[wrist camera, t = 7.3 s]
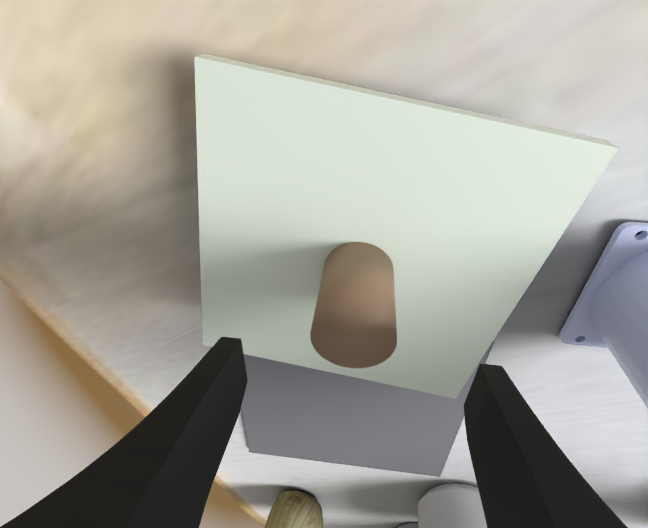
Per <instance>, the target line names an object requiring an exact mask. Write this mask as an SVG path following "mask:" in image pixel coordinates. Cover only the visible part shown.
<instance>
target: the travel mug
mask: <svg viewBox="0 0 648 528" xmlns="http://www.w3.org/2000/svg"><path fill="white" fill-rule="evenodd" d="M397 528H419V526H418V523H407V524H403V525H400V526H398V527H397Z"/></svg>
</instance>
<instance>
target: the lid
mask: <svg viewBox="0 0 648 528" xmlns="http://www.w3.org/2000/svg"><path fill="white" fill-rule="evenodd" d="M194 63H195V99H196V134H197V170H198V205H199V241H200V277H201V312H202V345H204V346H208V347H213V346H214V344H215V343H216V342H217V341H218V340H219V339H220V338H221V337H230V338H240V339H241V341H242V348H243V354H246V355H251V356H256V357H260V358H265V359H270V360H275V361H279V362H284V363H289V364H294V365H298V366H303V367H308V368H312V369H317V370H322V371H327V372H331V373H336V374H341V375H346V376H350V377H355V378H360V379H365V380H369V381H374V382H379V383H383V384H388V385H393V386H398V387H402V388H407V389H412V390H417V391H421V392H426V393H431V394H435V395H440V396H445V397H450V398H454V399H456V397H457V396H458V394H459V393H460V391H461V390H462V388H463V387H464V385H465V383H466V382H467V380H468V379H469V377H470V376H471V374H472V373H473V371H474V370H475V368H476V367H477V365H478V363H479V362H480V360H481V359H482V357H483V356H484V354H485V353H486V351H487V350H488V348H489V347H490V345H491V343H492V342H493V340H494V339H495V337H496V336H497V334H498V333H499V331H500V330H501V328H502V327H503V325H504V323H505V322H506V320H507V319H508V317H509V316H510V314H511V313H512V311H513V310H514V308H515V307H516V305H517V303H518V302H519V300H520V299H521V297H522V296H523V294H524V293H525V291H526V290H527V288H528V286H529V285H530V283H531V282H532V280H533V279H534V277H535V276H536V274H537V273H538V271H539V270H540V268H541V266H542V265H543V263H544V262H545V260H546V259H547V257H548V256H549V254H550V253H551V251H552V250H553V248H554V246H555V245H556V243H557V242H558V240H559V239H560V237H561V236H562V234H563V233H564V231H565V230H566V228H567V226H568V225H569V223H570V222H571V220H572V219H573V217H574V216H575V214H576V213H577V211H578V210H579V208H580V206H581V205H582V203H583V202H584V200H585V199H586V197H587V196H588V194H589V193H590V191H591V189H592V188H593V186H594V185H595V183H596V182H597V180H598V179H599V177H600V176H601V174H602V173H603V171H604V169H605V168H606V166H607V165H608V163H609V162H610V160H611V159H612V157H613V156H614V154H615V153H616V151H617V149H618V147H616V146H615V145H613V144H612V143H610V142H609V141H607V140H603V139H599V138H594V137H589V136H585V135H580V134H575V133H571V132H566V131H561V130H557V129H552V128H547V127H543V126H538V125H534V124H529V123H524V122H520V121H515V120H510V119H506V118H501V117H496V116H492V115H487V114H482V113H478V112H473V111H469V110H464V109H459V108H455V107H450V106H445V105H441V104H436V103H431V102H427V101H422V100H417V99H413V98H408V97H404V96H399V95H394V94H390V93H385V92H380V91H376V90H371V89H366V88H362V87H357V86H352V85H348V84H343V83H338V82H334V81H329V80H325V79H320V78H315V77H311V76H306V75H301V74H297V73H292V72H287V71H283V70H278V69H273V68H269V67H264V66H260V65H255V64H250V63H246V62H241V61H236V60H232V59H227V58H222V57H218V56H213V55H208V54H201V55H198V56H195V57H194Z"/></svg>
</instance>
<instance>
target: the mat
mask: <svg viewBox="0 0 648 528" xmlns="http://www.w3.org/2000/svg"><path fill="white" fill-rule="evenodd" d="M493 343H494V340H493V342H492V343H491V345H490V347H489V348H488V350H487V351H486V353H485V354H484V356H483V357H482V359H481V360H480V362H479V363H478V365H477V367H476V368H475V370H474V371H473V373H472V374H471V376H470V377H469V379H468V380H467V382H466V383H465V385H464V387H463V388H462V390H461V391H460V393H459V394H458V396H457V397H456V399H454V398H450V397H445V396H440V395H435V394H431V393H426V392H421V391H417V390H412V389H407V388H402V387H398V386H393V385H388V384H383V383H379V382H374V381H369V380H365V379H360V378H355V377H350V376H346V375H341V374H336V373H331V372H327V371H322V370H317V369H312V368H308V367H303V366H298V365H294V364H289V363H284V362H279V361H275V360H270V359H265V358H260V357H256V356H251V355H246V354H244V360H245V366H246V373H247V379H248V382H247V386H246V390H245V394H244V398H243V401H242V405H241V410H242V416H243V421H244V426H245V432H246V437H247V442H248V448H249V452H252V453H260V454H268V455H276V456H283V457H291V458H299V459H307V460H314V461H322V462H330V463H338V464H345V465H353V466H361V467H368V468H376V469H384V470H392V471H399V472H407V473H415V474H423V475H430V476H438V477H440V475H441V473H442V470H443V468H444V465H445V463H446V460H447V458H448V455H449V453H450V450H451V448H452V445H453V443H454V440H455V438H456V435H457V433H458V430H459V428H460V425H461V423H462V420H463V418H464V403H465V400H466V398H467V395H468V393H469V390H470V387H471V385H472V382H473V380H474V377H475V375H476V372H477V369H478V367H479V364H485V363H486V360H487V358H488V355H489V353H490V350H491V348H492V345H493Z"/></svg>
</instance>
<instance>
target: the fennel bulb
mask: <svg viewBox="0 0 648 528" xmlns="http://www.w3.org/2000/svg"><path fill="white" fill-rule="evenodd" d="M265 528H323V517H322V508H321V506H320V504H319V503H318V501H317V500H316V499H315V498H313V497H312V496H310V495H309V494H306V493H304V492H301V491H283V492H281V493H280V494H279V496H278V498H277V500H276V502H275V503H274V504H273V506H272V509H271V511H270V514H269V516H268V520H267V523H266V526H265Z"/></svg>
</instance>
